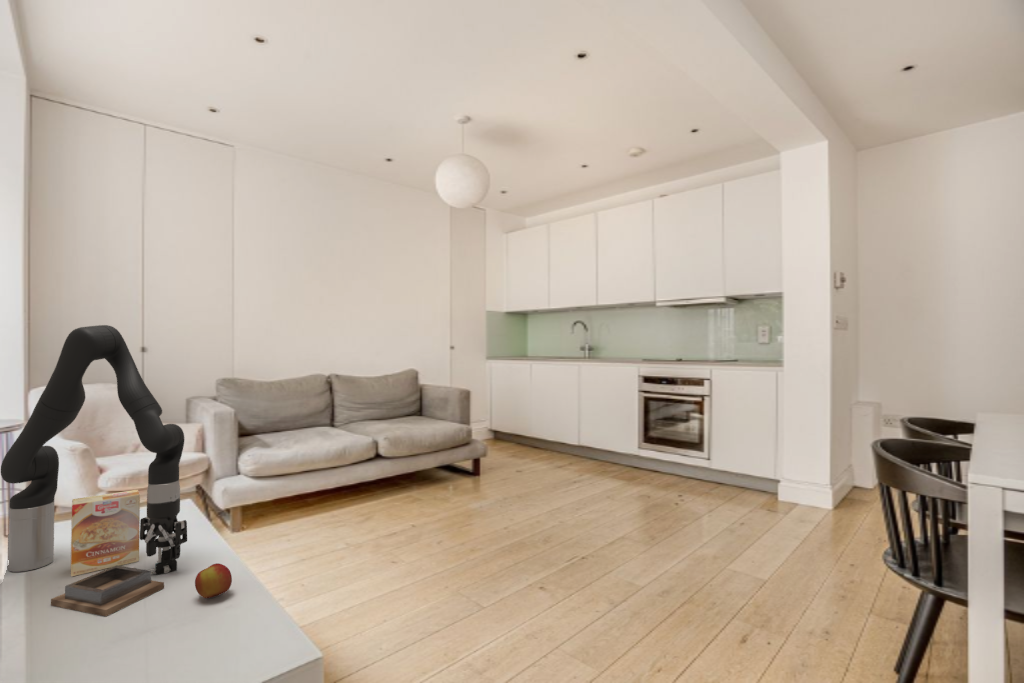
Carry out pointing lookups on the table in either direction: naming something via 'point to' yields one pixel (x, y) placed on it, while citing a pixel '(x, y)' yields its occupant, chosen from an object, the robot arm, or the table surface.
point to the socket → (89, 593)
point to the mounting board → (109, 606)
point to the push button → (164, 557)
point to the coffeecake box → (104, 531)
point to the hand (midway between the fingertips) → (163, 557)
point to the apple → (213, 581)
